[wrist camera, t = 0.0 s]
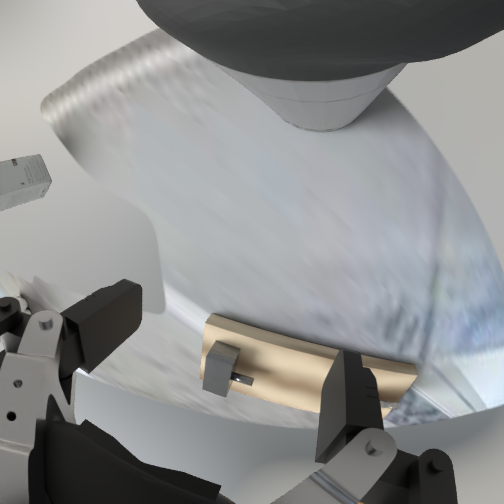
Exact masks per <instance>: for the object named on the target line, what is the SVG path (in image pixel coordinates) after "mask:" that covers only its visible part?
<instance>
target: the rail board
mask: <svg viewBox="0 0 504 504" xmlns="http://www.w3.org/2000/svg"><path fill="white" fill-rule="evenodd" d="M216 340H217V341H220V342H223V343H225V344H229V345H232V346H235V347H238V348H241V349H240V354H239V358H238V362H237V367H236V371H235V372H236V373H239V374H242V375H245V376H248V377H251V378H254V381H253V384H252V386H249V385H246V384H243V383H240V382H236V381H233V383H232V385H231V387H230V390H233V391H237V392H240V393H243V394H246V395H249V396H253V397H256V398H259V399H263V400H267V401H270V402H274V403H278V404H282V405H286V406H290V407H294V408H298V409H302V410H307V411H312V412H316V413H320V404H321V391H322V387H323V383H324V380H325V378H326V376H327V374H328V372H329V370H330V368H331V366H332V364H333V362H334V360H335V358H336V356H337V354H338V352H339V350H338V349H334V348H330V347H326V346H321V345H317V344H313V343H310V342H306V341H302V340H298V339H294V338H291V337H287V336H283V335H280V334H276V333H273V332H269V331H266V330H262V329H259V328H256V327H252V326H249V325H246V324H243V323H239V322H236V321H233V320H230V319H227V318H224V317H221V316H218V315H215V314H211V315H210V317H209V318H208V319H207V321H206V322H205V328H204V337H203V347H202V357H201V368H200V379H202V380H203V379H204V370H205V361H206V356H207V354H208V352H209V351H210V349H211V347H212V346H213V344H214V342H215V341H216ZM361 357H362V364H363V367H367V368H370V370H371V371H372V373H373V374H374V376H375V377H376V381H377V386H378V390H377V391H378V392H379V399H380V400H384V401H388V402H389V401H392V402H398V401H399V400H400V398H401V397H402V396H403V395H404V393H405V392H406V391H407V390H408V388H409V387H410V386H411V384H412V383H413V382H414V380H415V379H416V377H417V376H418V375H417V371H416V368H415V365H412V364H406V363H401V362H395V361H390V360H385V359H380V358H375V357H370V356H365V355H361ZM390 410H391V409H388V408H381V411H382V419H384V417H385V416H386V415H387V414H388V413H389V412H390Z"/></svg>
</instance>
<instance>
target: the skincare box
mask: <svg viewBox="0 0 504 504" xmlns="http://www.w3.org/2000/svg"><path fill="white" fill-rule="evenodd" d="M51 182H52V180H51V178H50V175H49V173H48V170H47V168H46V166H45V163H44V161H43V159H42V157H41V155H40V154H37V155H32V156H26V157H21V158H16V159H11V160H7V161H2V162H0V211H3V210H5V209H8V208H11V207H14V206H17V205H20V204H23V203H26V202H30V201H33V200H36V199H39V198H43V197H44V195H45V194H46V192H47V190H48V188H49V186H50V184H51Z"/></svg>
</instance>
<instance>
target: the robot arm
mask: <svg viewBox="0 0 504 504" xmlns="http://www.w3.org/2000/svg"><path fill="white" fill-rule="evenodd" d="M136 1H137V2H138V4H139V6H140V7H141V9H142V10H143V11H144V12H145V14H146V15H147V16H148V17H149V18H150V19H151V20H152V21H153V22H154V23H155V24H156V25H157V26H159V27H160V28H161V29H163V30H164V31H165V32H167V33H168V34H169V35H171V36H172V37H174V38H175V39H177V40H178V41H180V42H182V43H183V44H185V45H186V46H188V47H189V48H191V49H192V50H194V51H195V52H197V53H199V54H200V55H202V56H203V57H204V58H206V59H207V60H209V61H210V62H211V63H213V64H214V65H216V66H217V67H219V68H220V69H221V70H223V71H224V72H225V73H227V74H228V75H229V76H231V77H232V78H234V79H235V80H236V81H238V82H239V83H240V84H242V85H243V86H244V87H246V88H247V89H248V90H249V91H251V92H252V93H253V94H254V95H256V96H257V97H258V98H259V99H260V100H262V101H263V102H264V103H265V104H266V105H268V106H269V107H270V108H271V109H272V110H274V111H275V112H276V113H277V114H278V115H279V116H281V118H282V119H283V120H285V121H286V122H288V123H290V124H292V125H294V126H295V127H297V128H301V129H304V130H307V131H313V132H330V131H333V130H337V129H340V128H342V127H344V126H346V125H348V124H350V123H351V122H352V121H353V120H355V119H356V118H357V117H358V116H359V115H360V114H361V113H362V112H363V111H364V110H365V109H366V108H367V107H368V105H369V104H370V103H371V102H372V101H373V100H374V99H375V98H376V97H377V96H378V95H379V94H380V93H381V92H382V90H383V89H384V88H385V87H386V86H387V85H388V84H389V83H390V82H391V81H392V80H393V79H394V78H395V77H396V76H397V75H398V73H399V72H400V71H401V70H402V69H403V68H404V67H405V66H406V64H408V63H412V62H422V61H429V60H433V59H438V58H442V57H445V56H448V55H451V54H454V53H457V52H459V51H462V50H464V49H466V48H468V47H470V46H472V45H474V44H476V43H478V42H480V41H482V40H484V39H486V38H488V37H490V36H492V35H494V34H496V33H498V32H500V31H502V30H504V0H136ZM141 320H142V287H141V285H139V284H137V283H134V282H132V281H129V280H127V279H123V280H121V281H119V282H117V283H116V284H114V285H112V286H108V287H105V288H101V289H99V290H97V291H95V292H94V293H92V294H91V295H89V296H87V297H85V299H82V300H81V301H79V302H77V303H76V304H74V305H72V306H71V307H69V308H68V309H66V310H64V311H63V312H61V313H60V314H59V313H58V312H56V311H52V310H43V311H39V312H37V313H35V314H33V315H29V314H26V313H24V312H22V310H21V306H20V302H19V300H18V299H16V298H14V297H3V298H0V338H1V341H2V343H3V346H4V350H3V351H1V352H0V504H235V503H234V502H233V501H231V500H230V499H228V498H227V497H225V496H223V495H222V494H220V493H219V491H220V488H221V485H218V484H215V483H212V482H209V481H206V480H203V479H200V478H197V477H195V476H193V475H190V474H187V473H185V472H181V471H176V470H171V469H166V468H162V467H158V466H154V465H150V464H146V463H143V462H141V461H140V460H138V459H137V458H136V457H135V456H134V455H133V454H131V453H130V452H129V451H128V450H127V449H126V448H125V447H124V446H123V445H121V444H120V443H119V442H118V441H117V440H116V439H115V438H114V437H113V436H111V435H109V434H108V433H106V432H104V431H103V430H101V429H100V428H98V427H97V426H95V425H94V424H92V423H91V422H89V421H88V420H86V419H85V420H84V421H83V422H82V424H81V425H77V424H76V420H75V415H74V400H75V384H76V373H75V370H77V369H78V368H81V369H82V370H83V371H85V372H87V373H88V374H89V373H90V372H91V371H92V370H94V369H95V368H96V367H97V366H98V365H99V364H100V363H101V362H102V361H103V360H104V359H105V358H107V357H108V356H109V355H110V354H111V353H112V352H113V351H114V350H115V349H116V348H117V347H119V346H120V345H121V344H122V343H123V342H124V341H125V340H126V339H127V338H129V337H130V336H131V335H132V334H133V333H134V332H135V331H136V330H137V329H138V328H139V326H140V324H141ZM377 390H378V386H377V381H376V377H375V376H374V374H373V373H372V371H371V370H370V368H367V367H363V364H362V357H361V353H360V352H356V351H351V350H347V349H343V348H341V349H340V350H339V352H338V354H337V356H336V358H335V360H334V362H333V364H332V366H331V368H330V370H329V372H328V374H327V376H326V378H325V380H324V383H323V387H322V391H321V404H320V417H319V428H318V438H317V447H316V456H315V462H318V463H325V465H324V466H323V467H322V468H321V469H320V470H318V471H317V472H314V473H313V474H311V475H310V476H309V477H307V478H306V479H305V480H303V481H302V482H301V483H299V484H298V485H297V486H295V487H294V488H293V489H291V490H290V491H288V492H287V493H286V494H284V495H283V496H281V497H280V498H278V499H277V500H275V501H274V502H272V503H271V504H358V502H361V503H364V504H458V503H457V492H456V484H455V477H454V470H453V465H452V461H451V459H450V458H449V456H448V455H447V454H446V453H445V452H443V451H441V450H439V449H429V450H426V451H425V452H423V453H422V454H421V455H420V456H415V455H412V454H409V453H406V452H403V451H401V450H398V449H397V445H396V442H395V440H394V439H393V437H392V436H391V435H390V434H389V433H387V432H385V431H384V426H383V419H382V411H381V405H380V399H379V392H378V391H377Z"/></svg>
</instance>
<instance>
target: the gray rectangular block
mask: <svg viewBox="0 0 504 504" xmlns="http://www.w3.org/2000/svg"><path fill="white" fill-rule="evenodd" d="M240 349H241V348H238V347H235V346H232V345H229V344H225V343H223V342H220V341H217V340H216V341H215V342H214V344H213V346H212V347H211V349H210V351H209V352H208V354H207V356H206V361H205V370H204V379H203V390H206V391H209V392H212V393H214V394H217V395H220V396H223V397H226V396H227V394H228V392H229V389H230V387H231V385H232V383H233V381H236V382H240V383H243V384H246V385H249V386H252V384H253V381H254V378H251V377H248V376H245V375H242V374H239V373H236V372H235V371H236V367H237V362H238V358H239V354H240Z"/></svg>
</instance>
